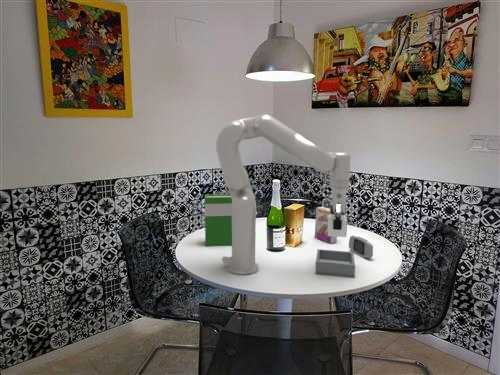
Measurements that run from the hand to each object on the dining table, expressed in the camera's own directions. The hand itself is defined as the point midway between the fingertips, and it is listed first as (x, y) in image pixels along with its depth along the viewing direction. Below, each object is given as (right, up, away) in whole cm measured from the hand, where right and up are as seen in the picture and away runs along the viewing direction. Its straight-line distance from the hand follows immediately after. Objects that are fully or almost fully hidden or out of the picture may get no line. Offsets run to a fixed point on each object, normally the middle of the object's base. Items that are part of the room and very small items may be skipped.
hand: (337, 226), depth 149 cm
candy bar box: (+3, -11, +38) cm, 40 cm away
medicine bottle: (0, -3, +1) cm, 3 cm away
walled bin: (0, -18, +3) cm, 18 cm away
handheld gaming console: (+15, -15, +19) cm, 28 cm away
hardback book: (-48, -12, +33) cm, 60 cm away
